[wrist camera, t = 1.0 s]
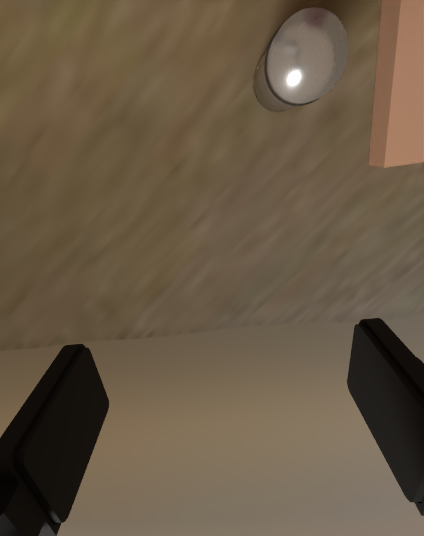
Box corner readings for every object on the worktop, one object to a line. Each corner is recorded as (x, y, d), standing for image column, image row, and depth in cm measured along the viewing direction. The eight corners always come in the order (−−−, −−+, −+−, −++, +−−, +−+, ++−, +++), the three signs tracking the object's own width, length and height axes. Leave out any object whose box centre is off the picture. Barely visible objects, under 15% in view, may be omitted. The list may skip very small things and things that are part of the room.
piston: (249, 51, 26) (265, 13, 18) (308, 41, 26) (352, -3, 18) (254, 117, 29) (270, 109, 20) (308, 108, 28) (347, 96, 20)
